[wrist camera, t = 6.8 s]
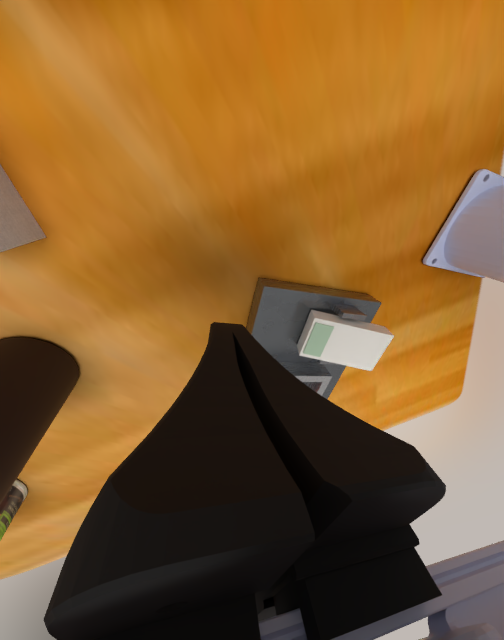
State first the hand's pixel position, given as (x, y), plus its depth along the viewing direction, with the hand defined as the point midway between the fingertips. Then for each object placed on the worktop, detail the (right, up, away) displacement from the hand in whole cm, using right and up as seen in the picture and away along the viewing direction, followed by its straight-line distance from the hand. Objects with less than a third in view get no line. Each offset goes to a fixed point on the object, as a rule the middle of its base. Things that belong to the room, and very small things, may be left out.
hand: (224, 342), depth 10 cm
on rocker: (+9, -1, +10) cm, 14 cm away
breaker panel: (+6, -3, +15) cm, 16 cm away
